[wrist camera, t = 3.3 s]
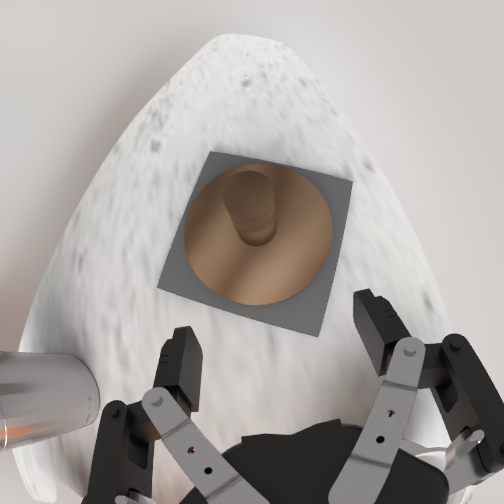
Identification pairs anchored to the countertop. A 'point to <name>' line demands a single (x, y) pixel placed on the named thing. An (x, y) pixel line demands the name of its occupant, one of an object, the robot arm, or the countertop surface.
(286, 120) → the countertop surface
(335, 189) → the rubber mat
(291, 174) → the walnut lid
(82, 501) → the mortar and pestle
